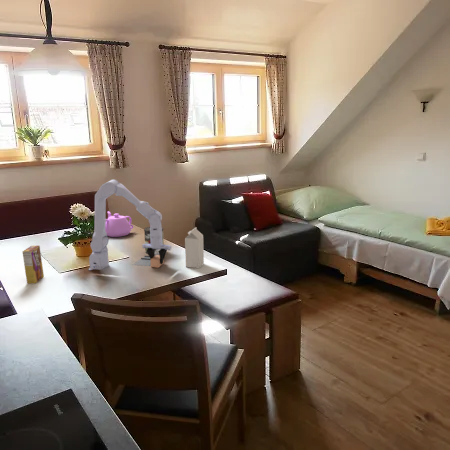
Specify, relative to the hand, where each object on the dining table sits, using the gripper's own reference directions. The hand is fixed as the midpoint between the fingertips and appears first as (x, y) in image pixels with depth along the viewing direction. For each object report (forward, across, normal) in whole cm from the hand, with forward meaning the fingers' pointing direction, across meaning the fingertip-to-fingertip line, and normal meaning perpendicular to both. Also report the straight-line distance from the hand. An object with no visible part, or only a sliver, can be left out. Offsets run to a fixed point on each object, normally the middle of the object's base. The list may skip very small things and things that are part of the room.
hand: (157, 263), depth 207 cm
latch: (+1, +3, -8) cm, 9 cm away
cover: (+1, 0, 0) cm, 1 cm away
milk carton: (+2, -17, -7) cm, 19 cm away
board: (+2, +8, -6) cm, 10 cm away
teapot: (+2, +53, -54) cm, 76 cm away
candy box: (+2, +47, +30) cm, 56 cm away
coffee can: (+2, +11, -21) cm, 24 cm away
